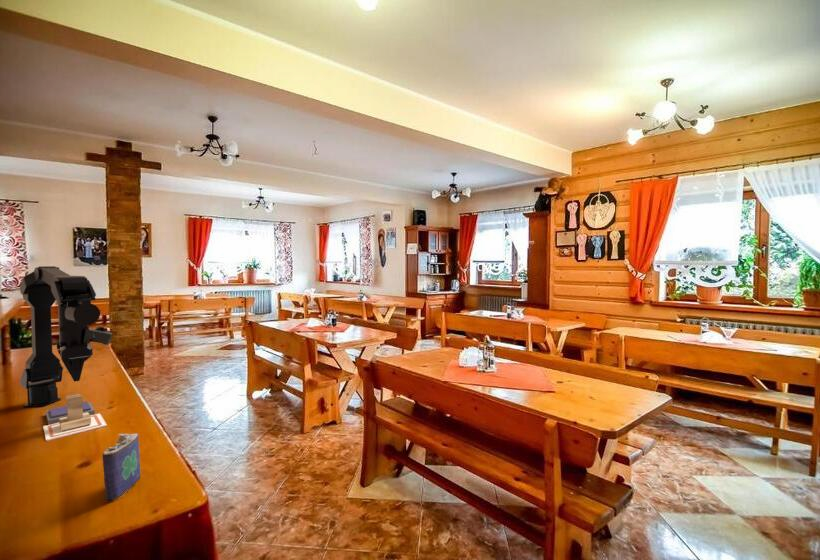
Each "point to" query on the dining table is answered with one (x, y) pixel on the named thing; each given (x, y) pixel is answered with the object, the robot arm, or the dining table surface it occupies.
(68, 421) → the stamp
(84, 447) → the dining table surface
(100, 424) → the print card
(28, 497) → the dining table surface
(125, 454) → the flask
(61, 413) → the ink pad
